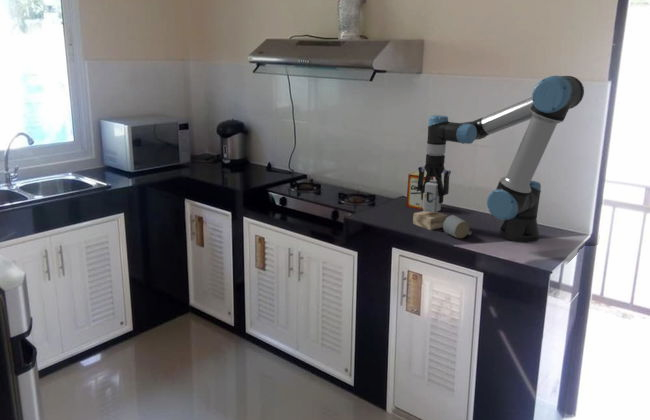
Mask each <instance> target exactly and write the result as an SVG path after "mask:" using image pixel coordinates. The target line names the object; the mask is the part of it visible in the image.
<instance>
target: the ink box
mask: <svg viewBox="0 0 650 420" xmlns="http://www.w3.org/2000/svg"><path fill="white" fill-rule="evenodd" d="M438 195H439V192H438V184H437V181H436V180H434V179H433V180H430V181H429V182H427V183H426V184H425V194H424V207H423V210H422V211H425V212H432V213H435V212H437V211H436V203H437V196H438Z"/></svg>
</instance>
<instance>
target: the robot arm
mask: <svg viewBox="0 0 650 420" xmlns="http://www.w3.org/2000/svg"><path fill="white" fill-rule="evenodd" d="M584 95H585V88H584V85H583V82H582V81H580V79H578V77H575V76H573V75H571V76H570V75H551V76H548V77H545V78H543V79H541V80H540V81H539V82H538V83H537V84H536V85H535V86H534V88H533V90H532V93H531V97H529V98H526V99H524V100H521V101H519V102H516V103H514V104H511V105H509V106H507V107H504V108H502V109H499V110H498V111H497V110H496V111H494V112H493V113H490V114H487V115H485V116H483V117H480V118H478V119H475V120H472V121H465V122H454V121H453V122H452V121H449V117H448V116H447V115H442V114H440V115H438V114H435V115H434V114H433V115H431V116H429V119H428V125H427V140H426V141H427V142H426V151H425V152H426V154H425V165H424V166H419V167H418V168H417V171H418V172H419V178H418V187H417V190H419V191H421V200H423V203H422V208H423V207H424V194H425V184H426V183H427V182H429V181H430V179H431V177H432V176H433V178H435V181H437V184H438V192H439V195H438V196H437V203H436V212H439V211H441V207H442V206H441V205H442V204H443V203H444V196H446V195H448V194H449V190H450V189H449V187H450V175H451V173H452V172H451V170H448V169H446V167H445V157H446V155H445V154H446V145H447V142H453V143H460V144H463V145H464V144H465V145H466V144H468V145H469V144H473V143H474V141H475V140H478V141H479V140H482V139H485V138H486V137H487V136H489V135H493V134H495V133H497V132H501V131H502V130H503V131H504V130H506V129H509V128H510V127H513V126H516V125H518V124H521V123H524V122H527V121H529V123H528V125H527V127H526V129H525V132H524V134H523V135H522V136H523V137H522V139H521V142H520V143H519V145H518V148H517V150H516V153H515V155H514V156H513V160H512V162H511V164H510V166H509V168H508V172H507V174H506V175H505V176H503V177H501V178H500V179H499V182H498V183H497V186H496V188H495V189H494V190H493V191H492V192H490V193H489V195H488V196H487V200H486V206H487V208H488V211H489V213H490V214H491V215H492V216H493V217H494V218H496V220H497V219H498V220H500V221H502V223H501V225H500V227H499V229H498V235H499V237H501V238H503V239H506V240H508V241H512V242H519V243H532V242H533V243H535V242H537V241H539V238H540V230H539V226H538V220H537V217H538V212H539V205H540V204H539V203H540V198H541V197H540V196H541V193H542V190H541V188H542V185H541V183H540V182H539V181H535V180H533V177H534V175H535V173H536V171H537V168H538V167H539V165H540V163H541V161H542V158H543V155H544V153H545V151H546V149H547V146H548V145H549V142H550V140H551V138H552V136H553V134H554V132H555V129H556V127H557V125H558V124H560V123H562V122H564V120H565V118H566V116H567V115H568V112H569V111H570V109H573V108H575V107H576V106H578V105H579V104H580V103H581V102H582V100H583V98H584ZM425 172H426V173H425ZM424 173H425V174H426V179H425V181H424V184H423V180H424ZM442 175H443V179H442Z"/></svg>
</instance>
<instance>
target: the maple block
mask: <svg viewBox="0 0 650 420" xmlns="http://www.w3.org/2000/svg"><path fill="white" fill-rule="evenodd" d="M412 217H413V218H412V224H413V225H415V226H417V227H421V228H424V229H426V230H428V231H433V230H436V229H440V228H443V224H444V221H445V219H446V218H447V217H449V215H447V214H445V213H442V212H439V211H436V212H435V213H432V212H425V211H423V210H421V211H418V212H413V215H412Z"/></svg>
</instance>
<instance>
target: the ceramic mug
mask: <svg viewBox="0 0 650 420" xmlns="http://www.w3.org/2000/svg"><path fill="white" fill-rule="evenodd" d="M442 228H443V231H444V233H446V234H448V235H450V236H452V237H454V238H456V239H464V238H466V236H471V235H472V231H470V225H469V223H468V222H467V221H466V220H464V219H462V218H460V217H458V216H457V215H453V214H451V215H448V217H447V218H446V219H445V221H444V224H443V227H442Z"/></svg>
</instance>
